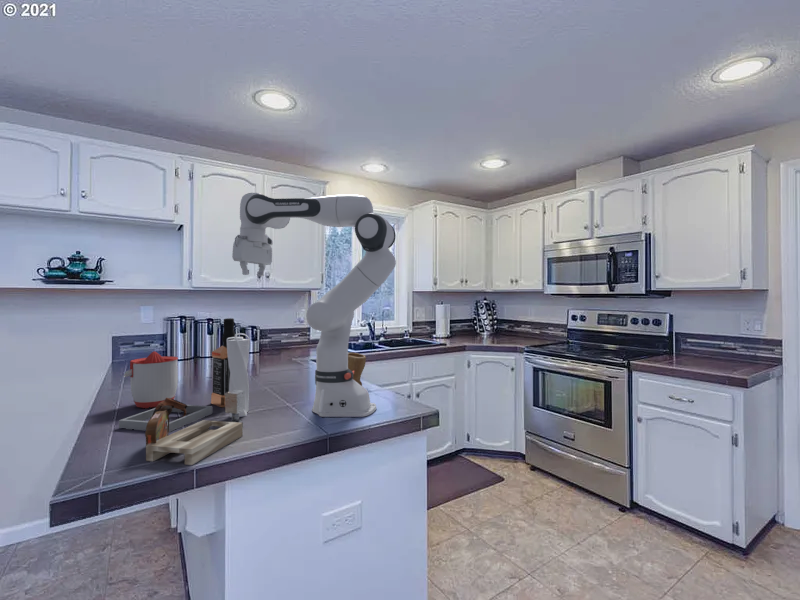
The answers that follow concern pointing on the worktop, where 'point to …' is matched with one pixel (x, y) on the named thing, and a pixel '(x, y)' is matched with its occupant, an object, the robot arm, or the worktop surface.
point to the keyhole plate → (196, 441)
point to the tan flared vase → (356, 365)
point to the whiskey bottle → (222, 366)
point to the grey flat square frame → (197, 413)
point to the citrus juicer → (153, 379)
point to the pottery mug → (170, 406)
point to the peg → (235, 404)
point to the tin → (157, 427)
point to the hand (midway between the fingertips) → (253, 275)
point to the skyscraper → (239, 367)
